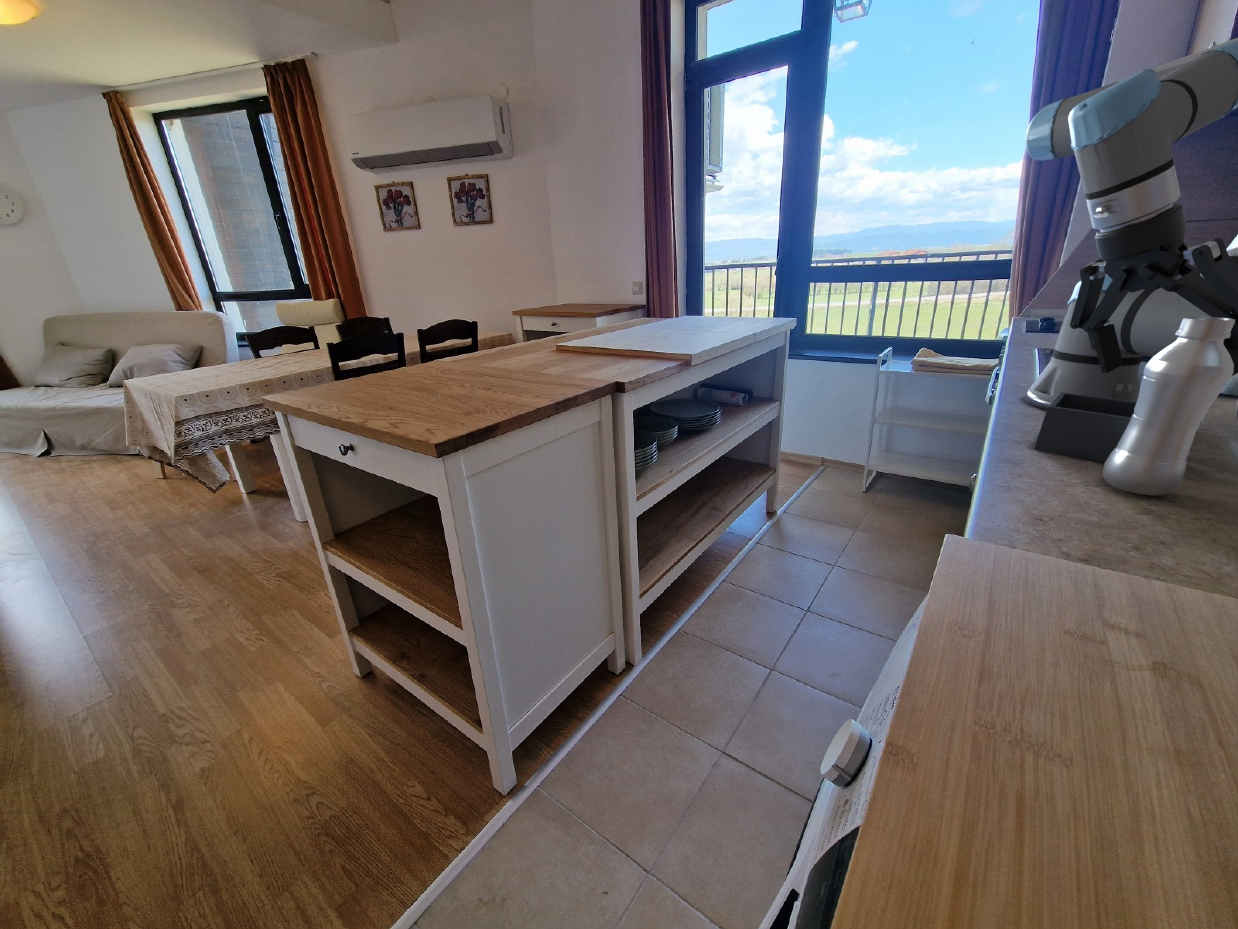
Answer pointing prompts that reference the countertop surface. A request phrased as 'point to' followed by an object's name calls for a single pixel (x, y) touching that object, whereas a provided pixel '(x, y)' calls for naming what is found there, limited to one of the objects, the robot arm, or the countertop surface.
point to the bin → (1084, 426)
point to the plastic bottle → (1171, 408)
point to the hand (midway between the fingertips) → (1168, 370)
